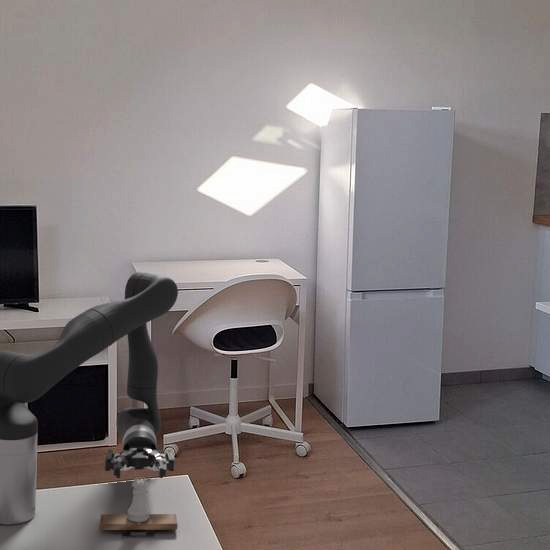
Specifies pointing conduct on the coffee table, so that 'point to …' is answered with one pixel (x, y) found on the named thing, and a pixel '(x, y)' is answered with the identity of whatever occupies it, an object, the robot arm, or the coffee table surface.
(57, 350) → the robot arm
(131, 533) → the fulcrum
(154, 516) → the beam
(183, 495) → the coffee table surface
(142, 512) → the rook chess piece
